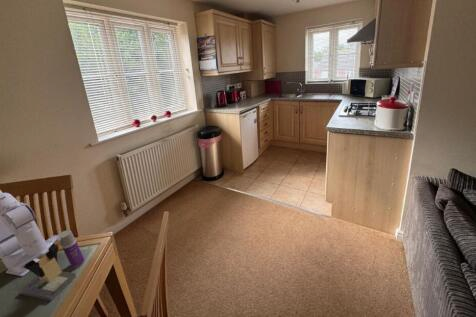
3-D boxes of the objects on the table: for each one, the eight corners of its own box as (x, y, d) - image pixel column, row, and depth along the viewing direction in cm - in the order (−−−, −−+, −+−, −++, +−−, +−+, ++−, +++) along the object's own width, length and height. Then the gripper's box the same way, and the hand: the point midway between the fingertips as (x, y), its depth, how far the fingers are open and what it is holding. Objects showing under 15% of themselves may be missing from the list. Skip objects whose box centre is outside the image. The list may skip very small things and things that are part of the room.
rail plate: (20, 294, 84) (18, 290, 83) (47, 271, 93) (45, 267, 92) (51, 301, 80) (49, 297, 80) (76, 276, 89) (74, 273, 89)
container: (78, 268, 93) (64, 238, 87) (68, 267, 94) (53, 237, 88) (87, 259, 97) (74, 230, 91) (78, 258, 98) (64, 229, 92)
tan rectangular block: (40, 280, 82) (31, 265, 80) (52, 270, 86) (44, 255, 84) (50, 282, 81) (41, 267, 78) (61, 271, 85) (54, 257, 82)
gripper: (16, 258, 70) (35, 290, 75) (60, 226, 83) (74, 255, 88) (-1, 255, 72) (19, 286, 77) (45, 224, 84) (60, 253, 90)
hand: (48, 270), depth 82 cm, fingers closed on tan rectangular block, 4 cm apart
